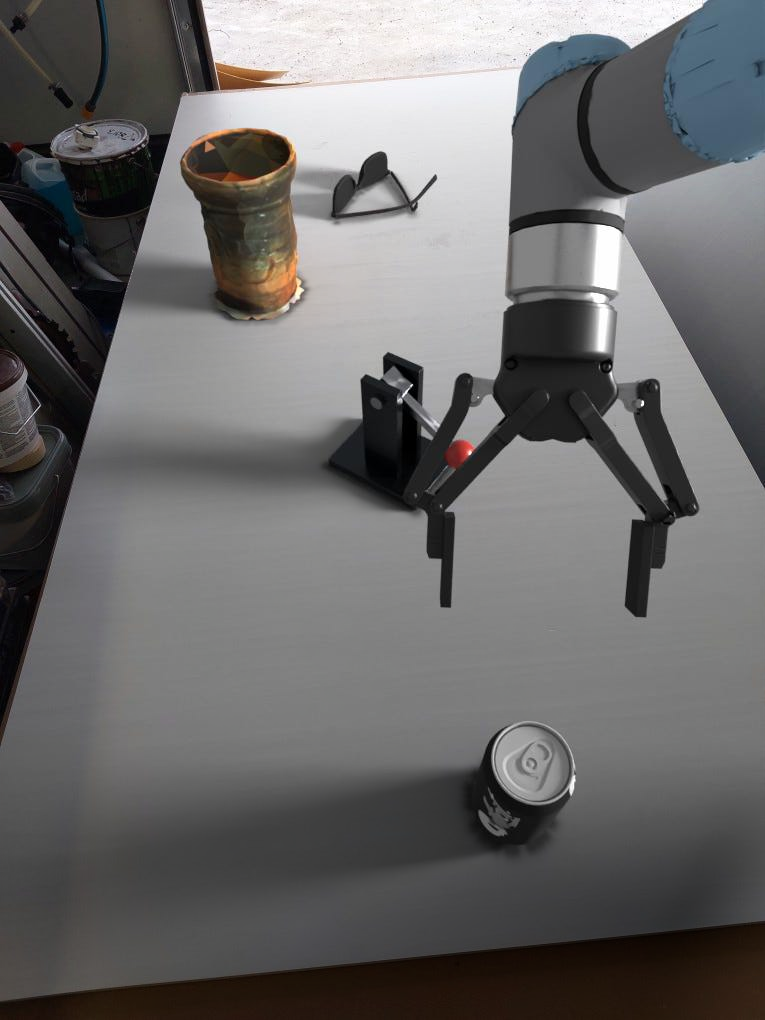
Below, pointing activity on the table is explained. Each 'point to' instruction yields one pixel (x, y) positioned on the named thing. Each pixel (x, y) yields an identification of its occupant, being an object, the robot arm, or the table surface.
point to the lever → (427, 418)
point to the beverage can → (522, 782)
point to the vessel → (247, 218)
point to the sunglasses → (369, 175)
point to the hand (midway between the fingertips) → (539, 607)
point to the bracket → (387, 436)
